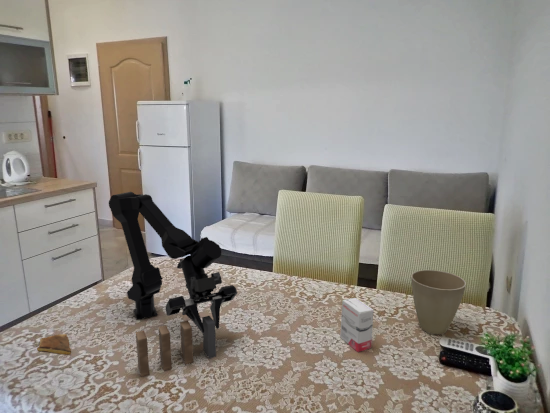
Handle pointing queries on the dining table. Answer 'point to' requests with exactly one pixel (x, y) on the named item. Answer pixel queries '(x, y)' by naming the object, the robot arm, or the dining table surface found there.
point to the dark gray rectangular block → (209, 337)
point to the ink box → (356, 324)
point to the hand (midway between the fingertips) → (210, 330)
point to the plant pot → (436, 298)
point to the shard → (55, 344)
